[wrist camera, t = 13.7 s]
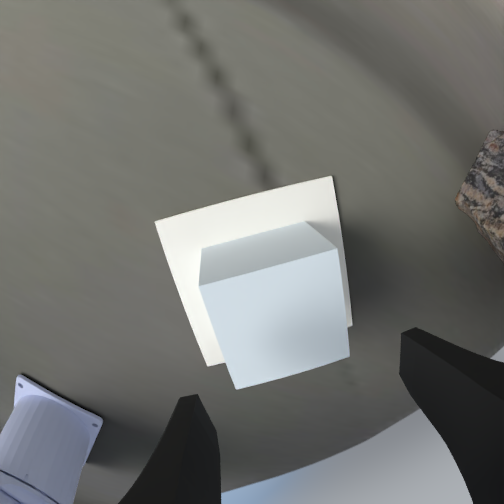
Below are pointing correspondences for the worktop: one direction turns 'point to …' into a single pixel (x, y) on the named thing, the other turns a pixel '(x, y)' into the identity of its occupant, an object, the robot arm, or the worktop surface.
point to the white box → (275, 303)
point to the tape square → (238, 226)
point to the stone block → (486, 192)
